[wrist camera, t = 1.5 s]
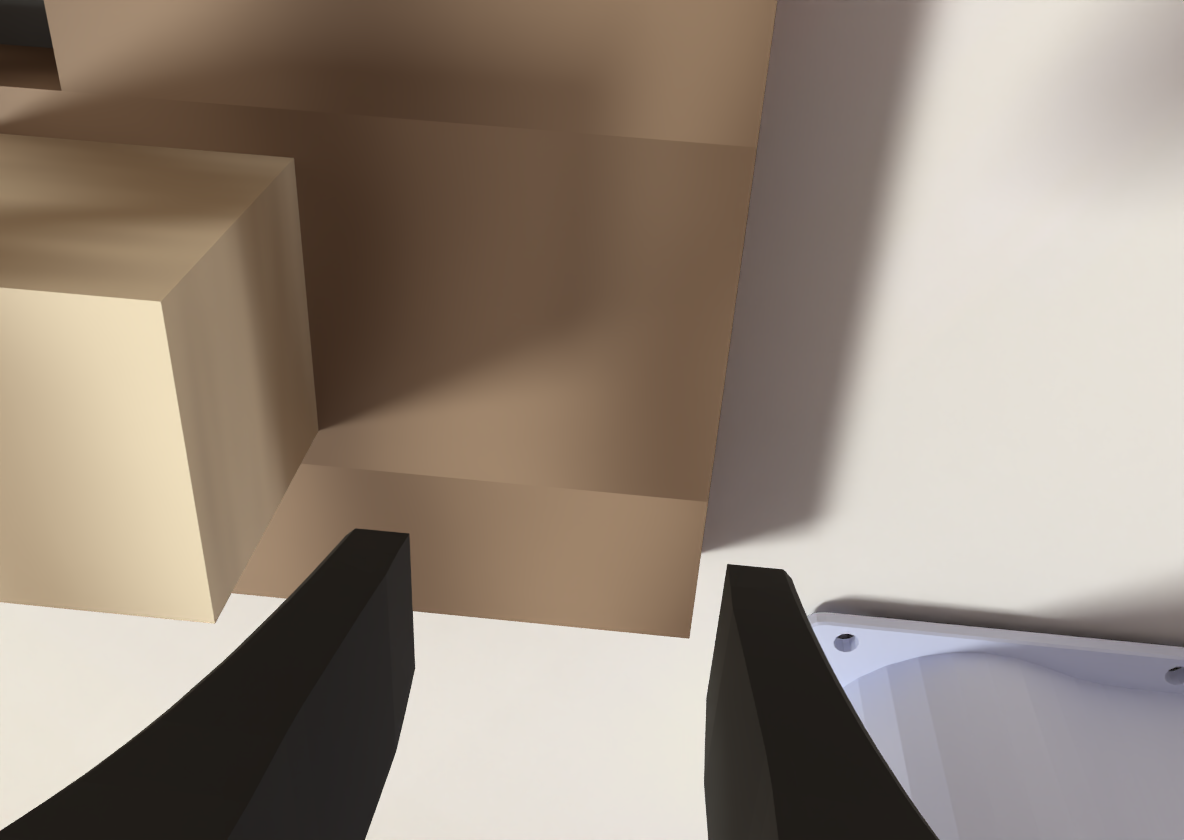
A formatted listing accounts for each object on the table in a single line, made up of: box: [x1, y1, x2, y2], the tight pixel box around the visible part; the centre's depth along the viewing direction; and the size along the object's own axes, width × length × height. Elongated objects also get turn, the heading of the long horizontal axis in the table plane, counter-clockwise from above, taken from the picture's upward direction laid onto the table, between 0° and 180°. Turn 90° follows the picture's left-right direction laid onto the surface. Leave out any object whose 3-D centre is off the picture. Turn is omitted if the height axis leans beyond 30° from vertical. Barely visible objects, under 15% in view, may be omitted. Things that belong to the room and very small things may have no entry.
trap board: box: [0, 0, 777, 638], centre depth 20 cm, size 26×13×2 cm, turn 87°
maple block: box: [0, 134, 319, 624], centre depth 16 cm, size 5×5×5 cm
